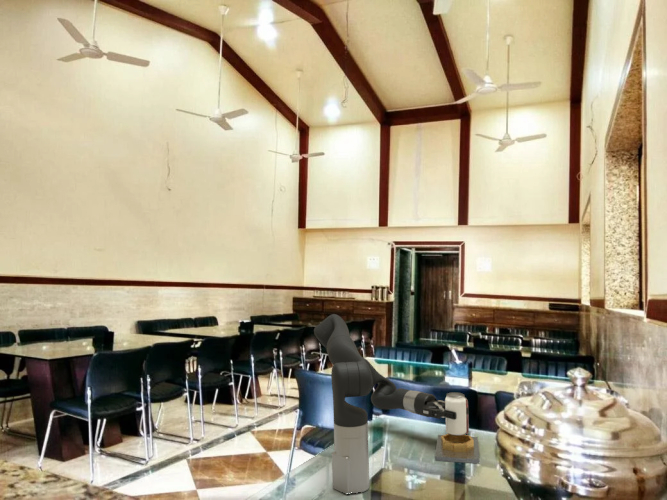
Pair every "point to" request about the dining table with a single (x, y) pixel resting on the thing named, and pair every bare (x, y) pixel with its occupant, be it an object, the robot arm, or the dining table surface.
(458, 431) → the can
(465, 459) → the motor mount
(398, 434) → the dining table surface
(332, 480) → the robot arm
